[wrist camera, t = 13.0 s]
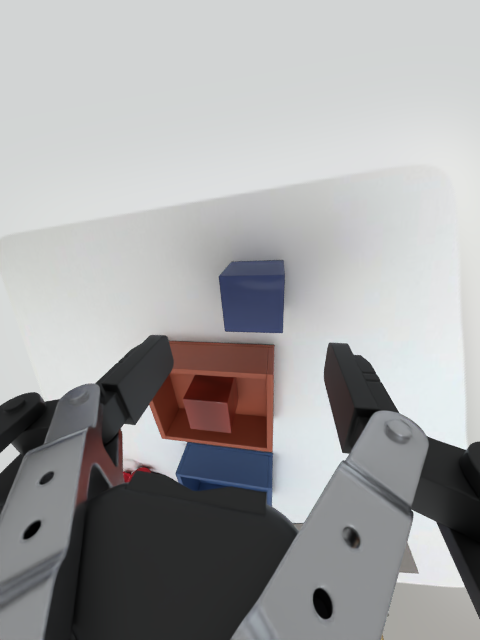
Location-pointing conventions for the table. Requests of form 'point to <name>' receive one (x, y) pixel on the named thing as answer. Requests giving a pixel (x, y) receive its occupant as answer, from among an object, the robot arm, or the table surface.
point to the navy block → (253, 296)
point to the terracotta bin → (227, 361)
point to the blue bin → (225, 468)
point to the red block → (211, 403)
